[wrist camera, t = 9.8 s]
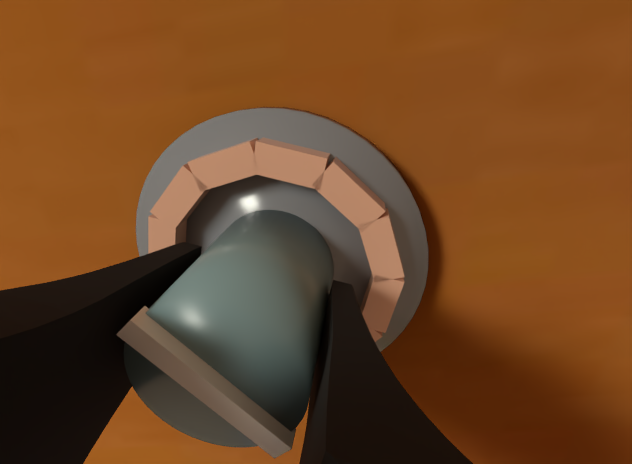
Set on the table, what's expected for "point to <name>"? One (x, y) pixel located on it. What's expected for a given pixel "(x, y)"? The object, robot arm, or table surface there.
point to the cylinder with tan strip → (237, 335)
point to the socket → (296, 201)
